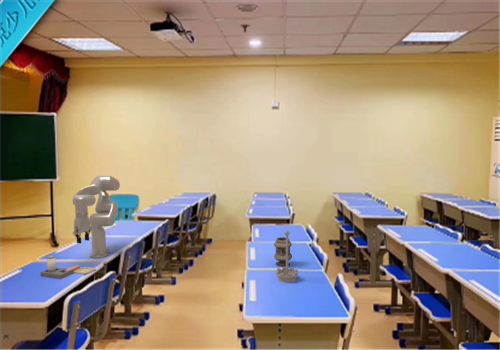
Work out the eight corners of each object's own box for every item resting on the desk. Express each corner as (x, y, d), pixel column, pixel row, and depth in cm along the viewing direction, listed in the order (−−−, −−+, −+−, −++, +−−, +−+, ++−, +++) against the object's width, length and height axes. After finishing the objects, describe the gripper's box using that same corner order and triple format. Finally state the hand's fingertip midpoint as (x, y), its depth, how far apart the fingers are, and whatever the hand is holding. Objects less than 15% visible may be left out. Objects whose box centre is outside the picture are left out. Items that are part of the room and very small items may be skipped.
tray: (84, 269, 247) (84, 266, 247) (95, 270, 244) (95, 268, 244) (73, 273, 239) (73, 271, 238) (85, 275, 235) (84, 273, 235)
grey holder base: (54, 271, 243) (53, 267, 243) (73, 274, 238) (73, 269, 237) (40, 276, 233) (40, 272, 233) (60, 279, 228) (60, 275, 228)
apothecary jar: (270, 263, 256) (270, 237, 254) (286, 260, 261) (286, 235, 259) (279, 268, 245) (279, 241, 243) (295, 265, 250) (295, 239, 248)
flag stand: (297, 283, 219) (297, 233, 216) (274, 282, 222) (274, 232, 219) (298, 275, 232) (298, 228, 229) (277, 274, 234) (277, 227, 232)
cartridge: (52, 272, 240) (51, 254, 239) (58, 273, 238) (56, 255, 237) (45, 274, 235) (44, 257, 234) (51, 275, 234) (50, 257, 233)
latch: (76, 268, 247) (76, 265, 246) (80, 269, 246) (80, 265, 245) (64, 273, 237) (64, 270, 237) (68, 274, 236) (68, 270, 236)
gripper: (87, 212, 257) (88, 238, 259) (67, 217, 241) (68, 244, 243) (95, 213, 255) (97, 238, 256) (76, 218, 238) (77, 245, 240)
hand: (83, 241), depth 249 cm, fingers open, 6 cm apart
